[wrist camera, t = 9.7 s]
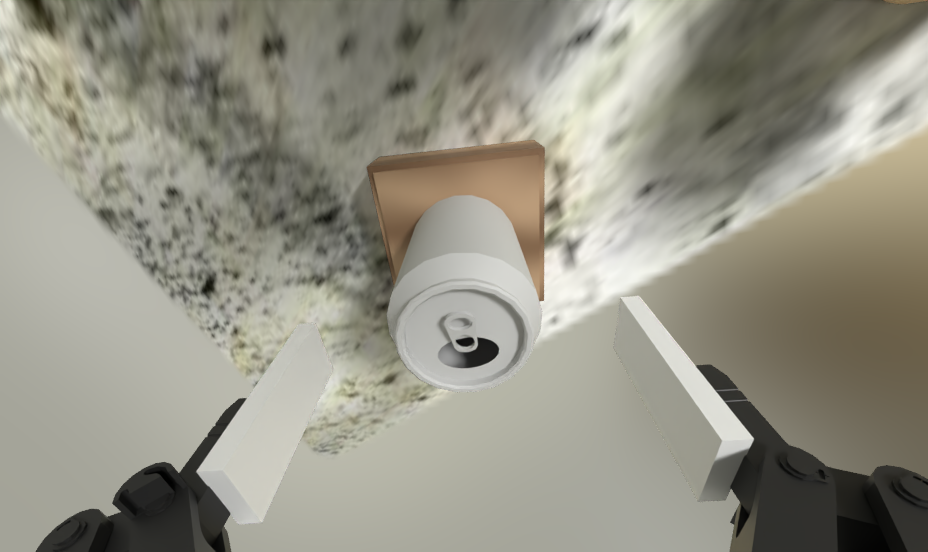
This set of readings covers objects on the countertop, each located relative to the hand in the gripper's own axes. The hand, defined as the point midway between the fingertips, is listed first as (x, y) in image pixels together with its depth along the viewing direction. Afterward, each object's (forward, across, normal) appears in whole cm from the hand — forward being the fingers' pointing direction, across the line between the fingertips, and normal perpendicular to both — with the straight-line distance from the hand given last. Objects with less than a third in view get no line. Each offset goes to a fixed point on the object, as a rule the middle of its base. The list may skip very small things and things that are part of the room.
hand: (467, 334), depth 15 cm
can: (+12, 0, -1) cm, 12 cm away
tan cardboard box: (+16, 0, -1) cm, 16 cm away
